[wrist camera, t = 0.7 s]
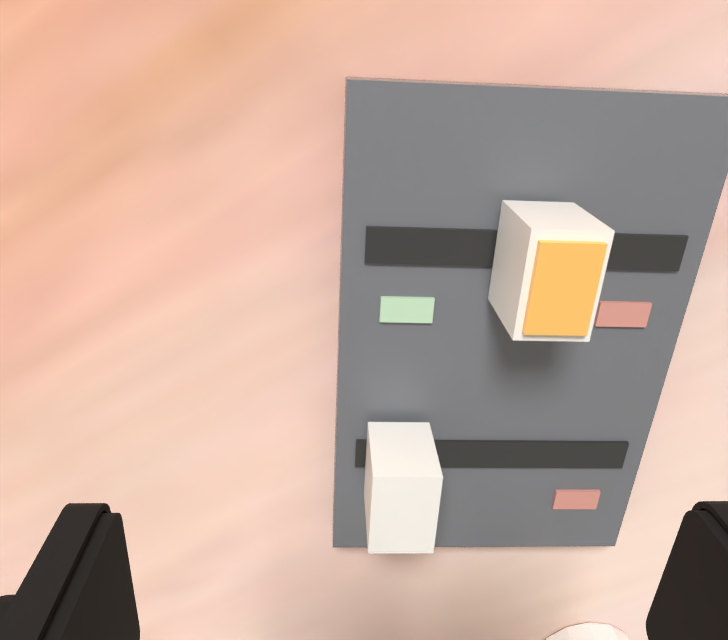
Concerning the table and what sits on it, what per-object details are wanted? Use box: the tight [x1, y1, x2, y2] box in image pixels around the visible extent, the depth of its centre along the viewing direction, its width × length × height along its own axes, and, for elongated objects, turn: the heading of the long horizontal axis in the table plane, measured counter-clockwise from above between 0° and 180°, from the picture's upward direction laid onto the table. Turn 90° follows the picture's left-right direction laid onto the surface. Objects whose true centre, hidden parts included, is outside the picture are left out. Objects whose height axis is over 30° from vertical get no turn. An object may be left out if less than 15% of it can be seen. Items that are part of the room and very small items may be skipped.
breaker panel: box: [333, 77, 728, 547], centre depth 29 cm, size 16×24×2 cm, turn 177°
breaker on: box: [364, 422, 443, 554], centre depth 28 cm, size 3×4×4 cm
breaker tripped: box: [488, 200, 615, 342], centre depth 24 cm, size 3×4×4 cm
